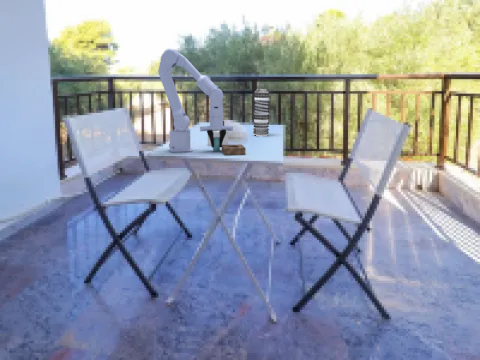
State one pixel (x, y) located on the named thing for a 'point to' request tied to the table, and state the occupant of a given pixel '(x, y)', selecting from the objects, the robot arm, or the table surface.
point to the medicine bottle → (216, 134)
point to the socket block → (233, 149)
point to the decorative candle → (261, 112)
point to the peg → (216, 143)
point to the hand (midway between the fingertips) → (216, 147)
